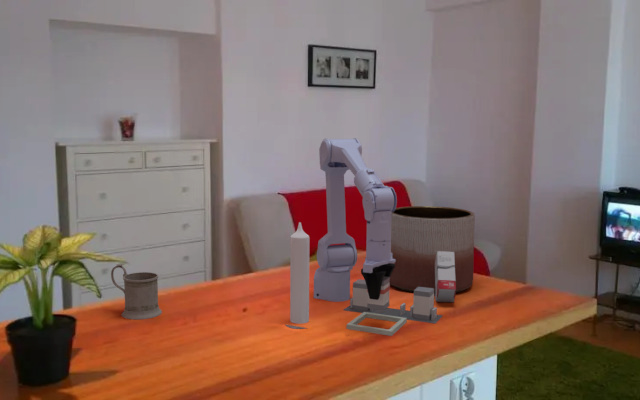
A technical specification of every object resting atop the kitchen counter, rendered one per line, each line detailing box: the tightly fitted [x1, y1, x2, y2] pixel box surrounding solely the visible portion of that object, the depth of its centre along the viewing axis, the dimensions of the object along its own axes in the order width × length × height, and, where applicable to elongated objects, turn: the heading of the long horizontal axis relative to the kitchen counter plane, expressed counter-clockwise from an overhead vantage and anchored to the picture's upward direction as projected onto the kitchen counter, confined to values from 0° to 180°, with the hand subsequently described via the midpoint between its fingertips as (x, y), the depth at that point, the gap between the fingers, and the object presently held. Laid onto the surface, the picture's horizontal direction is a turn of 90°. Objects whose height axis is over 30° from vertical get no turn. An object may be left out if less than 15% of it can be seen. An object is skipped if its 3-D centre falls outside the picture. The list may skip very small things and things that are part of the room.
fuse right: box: [412, 287, 435, 321], centre depth 162 cm, size 4×4×7 cm
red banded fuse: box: [367, 276, 391, 311], centre depth 155 cm, size 4×4×7 cm
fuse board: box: [343, 296, 444, 324], centre depth 165 cm, size 24×7×4 cm, turn 65°
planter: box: [390, 205, 476, 295], centre depth 195 cm, size 25×25×22 cm
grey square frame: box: [346, 312, 408, 337], centre depth 156 cm, size 11×11×2 cm
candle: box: [284, 221, 310, 330], centre depth 157 cm, size 7×7×25 cm
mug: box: [110, 263, 163, 320], centre depth 167 cm, size 14×10×12 cm
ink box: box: [434, 251, 457, 303], centre depth 176 cm, size 9×5×12 cm
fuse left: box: [352, 278, 370, 312], centre depth 168 cm, size 4×4×7 cm
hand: (377, 296), depth 155 cm, fingers closed on red banded fuse, 4 cm apart
